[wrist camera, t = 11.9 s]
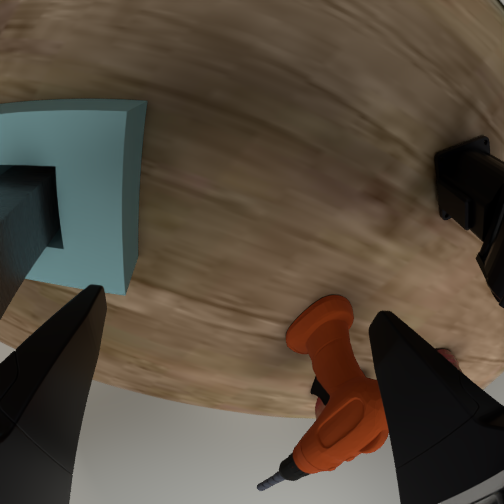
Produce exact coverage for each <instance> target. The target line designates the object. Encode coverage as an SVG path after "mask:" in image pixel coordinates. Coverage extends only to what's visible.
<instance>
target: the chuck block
mask: <svg viewBox="0 0 504 504" xmlns="http://www.w3.org/2000/svg"><path fill="white" fill-rule="evenodd" d="M146 108H147V101H142V100H124V99H54V100H36V101H24V102H13V103H4V104H0V175H1V174H3V173H4V172H5V171H7V170H8V169H10V168H11V167H12V166H14V165H35V166H56V184H57V197H58V208H59V217H60V226H61V228H60V229H59V230H58V232H57V233H56V234H55V236H54V237H53V238H52V240H51V241H50V243H49V244H48V245H47V247H46V248H45V249H44V251H43V252H42V254H41V255H40V257H39V258H38V259H37V261H36V262H35V264H34V265H33V267H32V268H31V270H30V271H29V273H28V274H27V276H26V277H25V278H26V279H31V280H36V281H41V282H46V283H52V284H57V285H63V286H68V287H74V288H80V289H85V288H86V287H87V286H88V285H90V284H96V285H102V286H103V287H104V290H105V293H112V294H119V295H126V292H127V289H128V286H129V283H130V280H131V276H132V273H133V270H134V268H135V265H136V262H137V259H138V214H139V188H140V171H141V157H142V145H143V135H144V125H145V116H146Z"/></svg>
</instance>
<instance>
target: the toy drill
mask: <svg viewBox="0 0 504 504" xmlns="http://www.w3.org/2000/svg"><path fill="white" fill-rule="evenodd" d="M353 319H354V316H353V309H352V306H351V304H350V302H349V301H348V300H347V299H346V298H345V297H343V296H339V295H330V296H327V297H324V298H322V299H320V300H318V301H317V302H315V303H314V304H312V305H311V306H310V307H309V308H308V309H306V310H305V311H304V312H303V313H302V314H301V315H300V316H299V317H298V318H297V319H296V320H295V321H294V322H293V323H292V325H291V326H290V327H289V329H288V331H287V334H286V343H287V346H288V347H289V348H290V349H291V350H293V351H294V352H297V353H300V354H309V356H310V358H311V360H312V367H313V370H314V372H315V374H316V377H315V379H314V382H313V385H312V388H311V394H314V395H316V396H318V397H319V398H320V399H321V400H322V402H323V404H324V405H325V408H324V409H323V411H322V412H321V414H320V415H319V417H318V418H317V419H316V421H315V422H314V424H313V425H312V426H311V427H310V429H309V430H308V431H307V433H305V435H304V436H303V437H302V438H301V440H300V441H299V442H298V444H297V445H296V447H295V448H294V450H293V453H292V454H291V455H289V457H288V458H286V459H285V460H284V461H282V462H281V464H280V467H279V472H277V473H275V474H274V475H273V476H271V477H270V478H268V479H266V480H265V481H263V482H262V483H260V484H258V485H257V489H258V490H260V491H263V490H265V489H267V488H269V487H271V486H273V485H275V484H276V483H279V482H281V481H283V480H285V479H286V480H291V481H295V480H298V479H300V478H301V477H304V476H307V475H309V474H313V473H317V472H320V471H332V470H335V469H336V467H338V466H339V465H340V464H342V462H343V461H351V460H353V459H354V458H355V457H356V456H357V455H359V454H361V453H371V452H375V451H376V450H377V449H379V448H380V447H381V446H382V445H383V444H384V442H385V441H386V439H387V437H388V433H389V430H388V425H387V421H386V416H385V411H384V407H383V403H382V398H381V394H380V390H379V386H378V381H377V380H374V379H370V378H367V377H365V375H364V374H363V372H362V370H361V369H360V367H359V365H358V363H357V361H356V359H355V357H354V354H353V351H352V347H351V344H350V338H349V329H350V327H351V325H352V323H353Z"/></svg>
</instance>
